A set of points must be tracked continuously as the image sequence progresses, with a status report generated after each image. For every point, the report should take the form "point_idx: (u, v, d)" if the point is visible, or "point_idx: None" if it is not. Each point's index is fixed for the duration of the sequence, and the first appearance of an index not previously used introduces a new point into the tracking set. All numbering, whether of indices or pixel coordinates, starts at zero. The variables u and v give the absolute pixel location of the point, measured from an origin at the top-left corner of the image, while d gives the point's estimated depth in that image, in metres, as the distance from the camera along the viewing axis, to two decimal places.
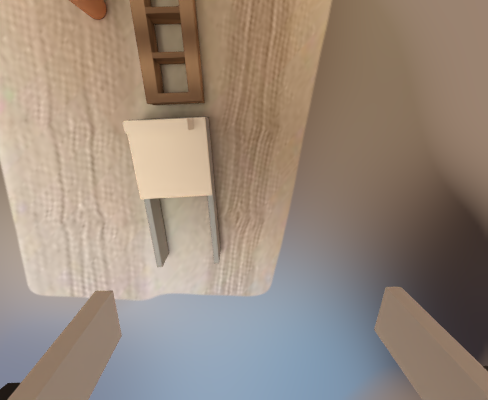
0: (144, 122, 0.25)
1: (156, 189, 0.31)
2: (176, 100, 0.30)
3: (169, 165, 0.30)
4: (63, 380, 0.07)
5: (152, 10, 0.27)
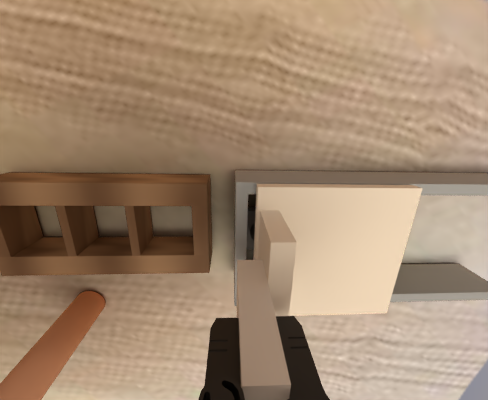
0: None
1: (377, 288, 0.17)
2: (205, 227, 0.17)
3: (339, 261, 0.16)
4: None
5: (70, 246, 0.16)
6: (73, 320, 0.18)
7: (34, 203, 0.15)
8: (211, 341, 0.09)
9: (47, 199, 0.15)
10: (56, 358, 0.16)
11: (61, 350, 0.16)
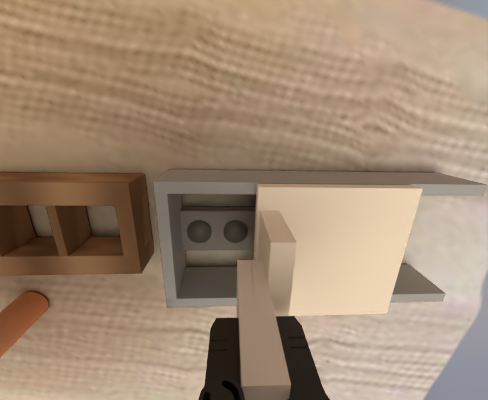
0: None
1: (377, 288, 0.17)
2: (132, 228, 0.16)
3: (339, 261, 0.16)
4: None
5: None
6: (5, 322, 0.18)
7: None
8: (211, 341, 0.09)
9: None
10: None
11: None
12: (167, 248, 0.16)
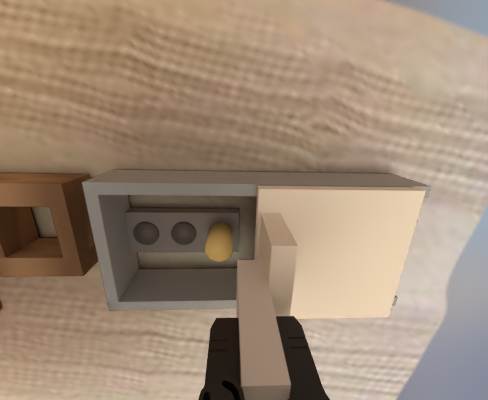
0: None
1: (378, 291, 0.16)
2: (69, 229, 0.16)
3: (340, 264, 0.15)
4: None
5: None
6: None
7: None
8: (211, 341, 0.09)
9: None
10: None
11: None
12: (103, 250, 0.15)
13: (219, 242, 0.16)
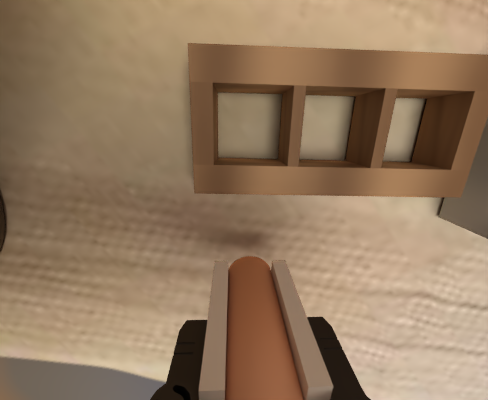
0: None
1: None
2: (481, 127, 0.12)
3: None
4: None
5: (294, 150, 0.12)
6: (269, 300, 0.10)
7: (268, 80, 0.11)
8: (178, 344, 0.09)
9: (287, 74, 0.11)
10: (296, 373, 0.08)
11: (291, 356, 0.08)
12: None
13: None
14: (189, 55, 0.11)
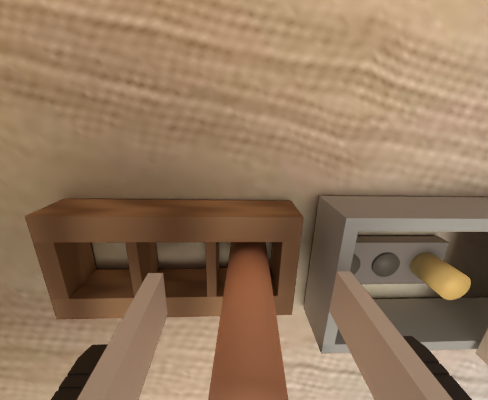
0: None
1: None
2: (294, 266, 0.14)
3: None
4: (138, 343, 0.09)
5: (137, 287, 0.14)
6: (259, 256, 0.13)
7: (102, 239, 0.13)
8: (69, 375, 0.07)
9: (117, 235, 0.13)
10: (272, 297, 0.11)
11: (270, 288, 0.11)
12: None
13: (458, 280, 0.14)
14: (28, 224, 0.12)
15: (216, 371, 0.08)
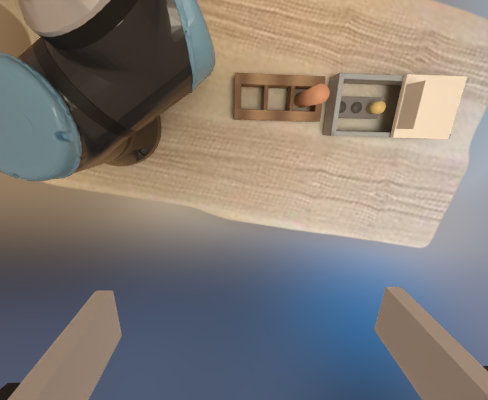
0: (418, 113, 0.35)
1: (445, 124, 0.40)
2: None
3: (432, 110, 0.39)
4: (63, 380, 0.07)
5: (265, 104, 0.39)
6: None
7: (257, 83, 0.38)
8: None
9: (262, 81, 0.38)
10: None
11: None
12: (338, 104, 0.39)
13: (381, 103, 0.40)
14: (235, 76, 0.38)
15: (313, 88, 0.33)
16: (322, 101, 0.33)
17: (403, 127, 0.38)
